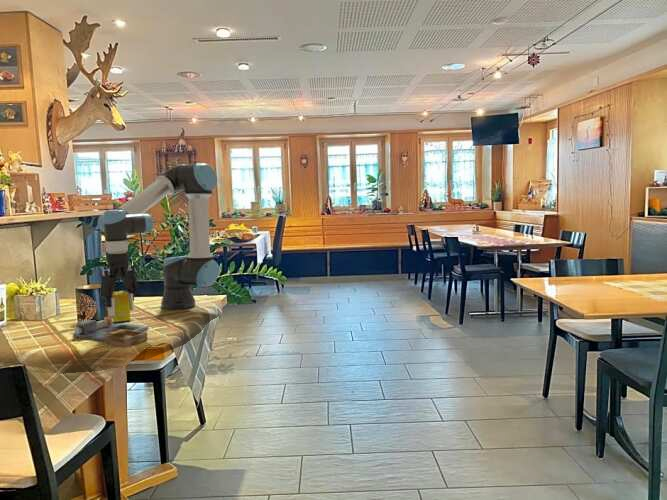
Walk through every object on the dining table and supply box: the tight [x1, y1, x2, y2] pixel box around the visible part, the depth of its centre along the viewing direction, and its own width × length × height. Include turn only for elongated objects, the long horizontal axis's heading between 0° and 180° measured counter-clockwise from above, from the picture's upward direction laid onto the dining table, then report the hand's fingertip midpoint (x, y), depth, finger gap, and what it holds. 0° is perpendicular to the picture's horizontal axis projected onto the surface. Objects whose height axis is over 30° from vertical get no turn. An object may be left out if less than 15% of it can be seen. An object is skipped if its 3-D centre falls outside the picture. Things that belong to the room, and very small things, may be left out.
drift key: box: [74, 317, 113, 334], centre depth 184 cm, size 14×3×3 cm, turn 156°
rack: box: [104, 329, 148, 348], centre depth 173 cm, size 10×10×3 cm
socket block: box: [72, 319, 149, 342], centre depth 184 cm, size 18×18×5 cm
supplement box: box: [112, 290, 132, 324], centre depth 185 cm, size 6×6×11 cm
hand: (121, 312), depth 185 cm, fingers closed on supplement box, 8 cm apart
